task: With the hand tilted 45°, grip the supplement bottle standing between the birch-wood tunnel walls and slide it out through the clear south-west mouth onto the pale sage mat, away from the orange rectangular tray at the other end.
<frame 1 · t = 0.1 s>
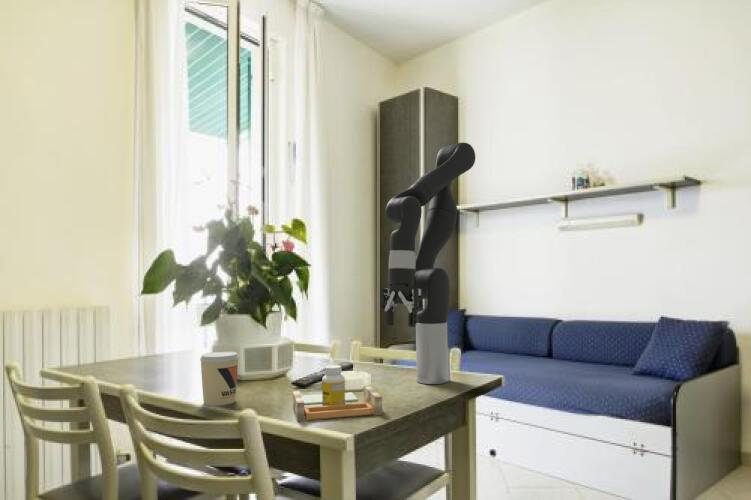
hand: (400, 326, 143), 17 cm above the table, tool pointing down, fingers open, 8 cm apart
coffee cup: (219, 402, 131), on the table
orange rectangular tray: (338, 414, 117), on the table
supplement bottle: (333, 408, 123), on the table
tunnel walls: (333, 407, 124), on the table
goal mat: (328, 399, 132), on the table
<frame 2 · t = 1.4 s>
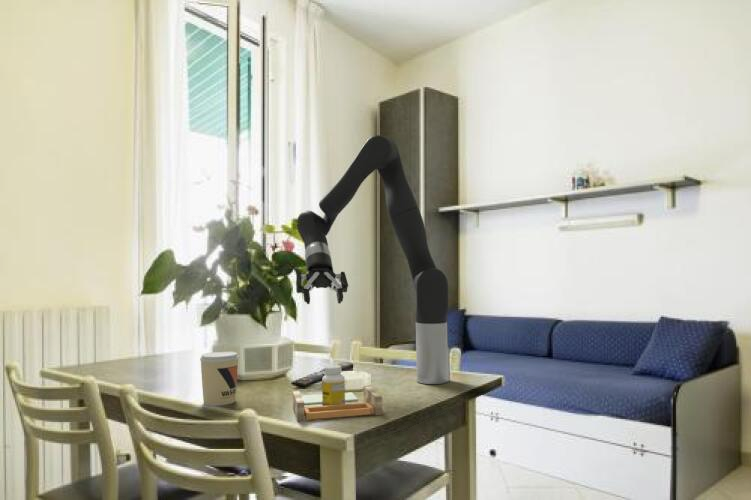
hand: (324, 301, 140), 24 cm above the table, tool tilted 45°, fingers open, 8 cm apart
nothing on the table moved.
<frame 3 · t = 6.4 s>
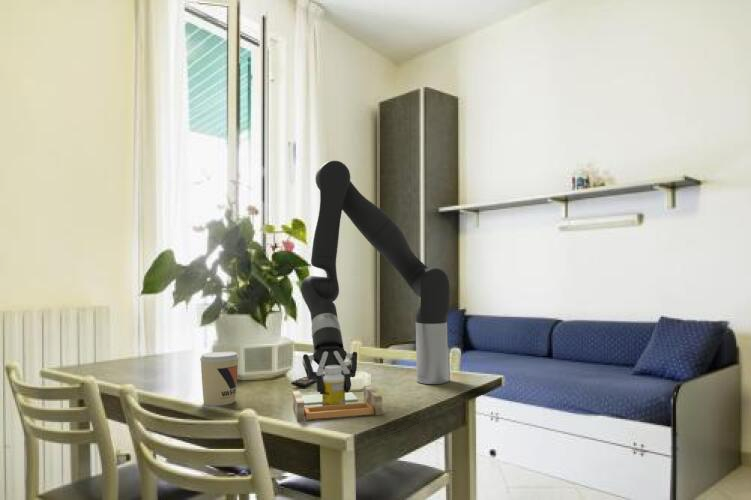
hand: (334, 391, 122), 4 cm above the table, tool tilted 45°, fingers closed on supplement bottle, 5 cm apart
supplement bottle: (333, 408, 123), on the table, touching gripper
everything else where it was.
when the fingers open (6 cm above the table, at t = 10.4 s): supplement bottle drops 1 cm, resting on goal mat.
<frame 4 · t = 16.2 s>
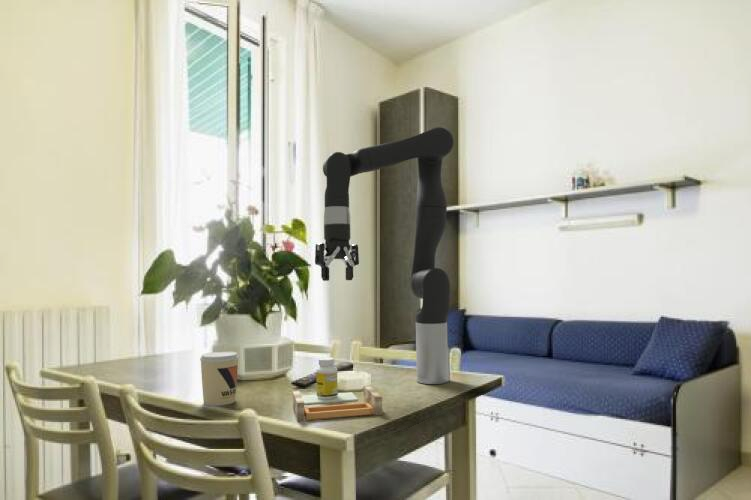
hand: (337, 280, 147), 30 cm above the table, tool pointing down, fingers open, 8 cm apart
supplement bottle: (327, 398, 132), resting on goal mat
everything else where it was.
at the end: supplement bottle inside the target area on the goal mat (0.3 cm from its centre), point 0.2 cm above the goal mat's base; supplement bottle tilted 0°; the gripper is holding nothing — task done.
